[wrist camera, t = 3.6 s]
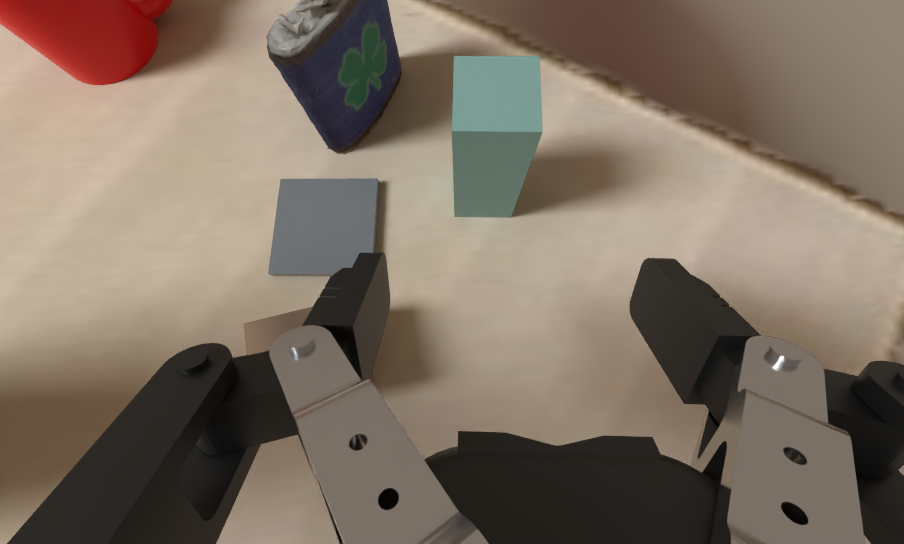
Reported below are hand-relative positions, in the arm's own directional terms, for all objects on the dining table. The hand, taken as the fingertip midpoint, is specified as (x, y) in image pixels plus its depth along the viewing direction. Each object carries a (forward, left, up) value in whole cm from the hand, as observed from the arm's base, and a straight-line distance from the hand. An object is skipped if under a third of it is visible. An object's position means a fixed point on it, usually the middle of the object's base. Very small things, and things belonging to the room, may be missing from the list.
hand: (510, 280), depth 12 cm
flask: (-9, +16, -13) cm, 23 cm away
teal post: (0, +9, -13) cm, 16 cm away
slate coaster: (-11, +6, -13) cm, 19 cm away
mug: (-29, +23, -13) cm, 40 cm away
